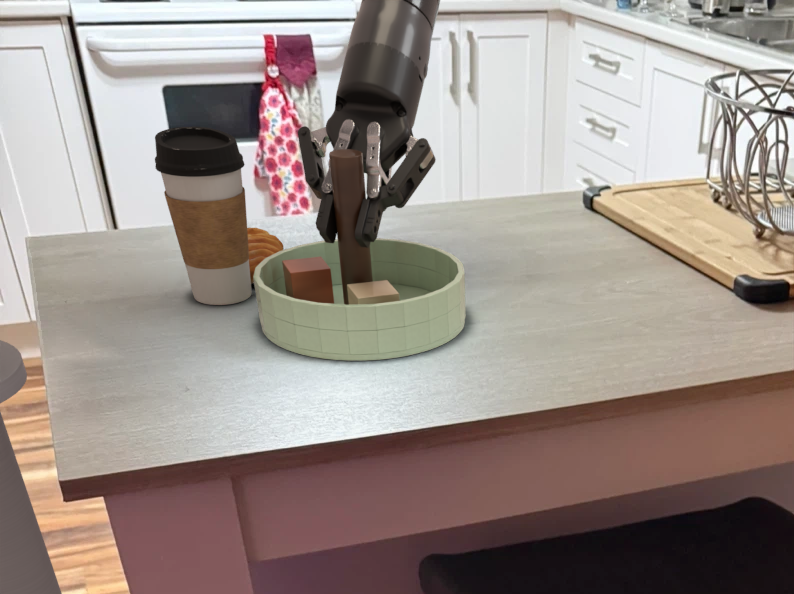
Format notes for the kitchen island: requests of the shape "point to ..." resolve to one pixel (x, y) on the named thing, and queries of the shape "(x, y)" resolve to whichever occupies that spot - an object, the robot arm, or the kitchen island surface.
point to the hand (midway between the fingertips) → (344, 240)
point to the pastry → (261, 247)
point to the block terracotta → (308, 279)
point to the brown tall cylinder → (349, 216)
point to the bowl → (366, 323)
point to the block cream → (372, 293)
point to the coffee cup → (207, 210)
